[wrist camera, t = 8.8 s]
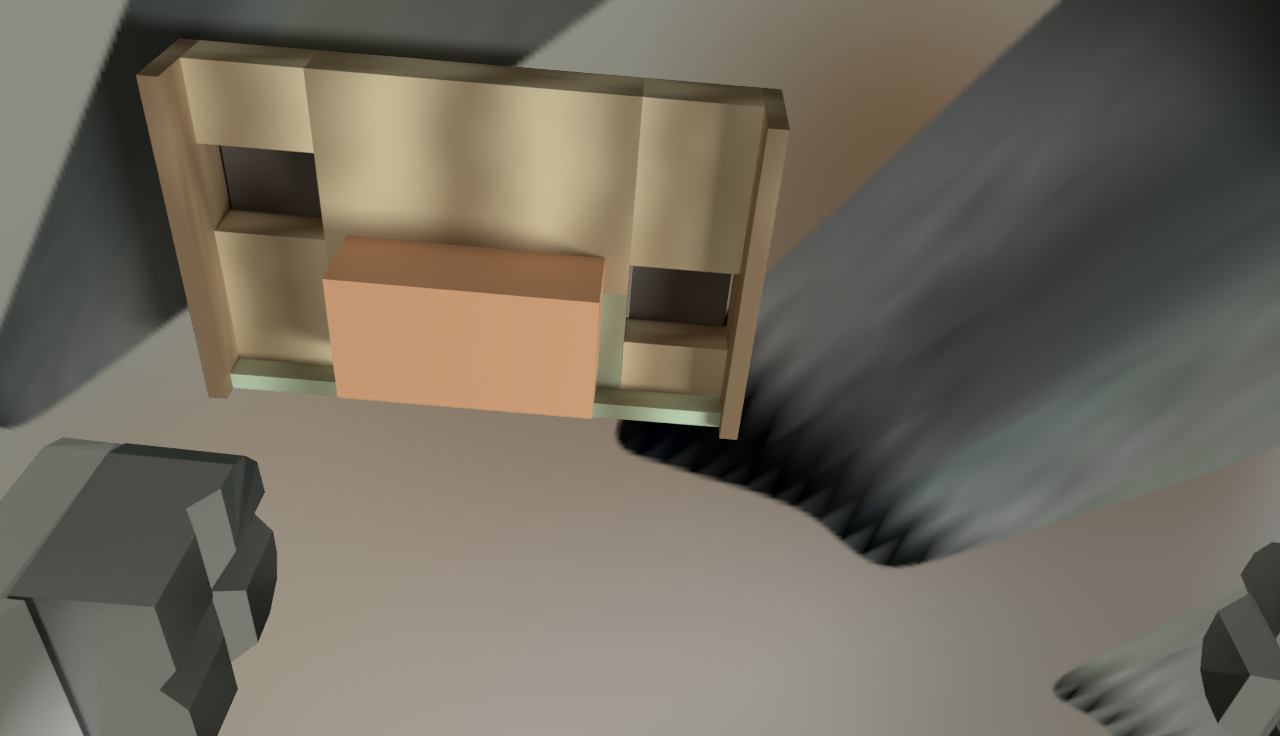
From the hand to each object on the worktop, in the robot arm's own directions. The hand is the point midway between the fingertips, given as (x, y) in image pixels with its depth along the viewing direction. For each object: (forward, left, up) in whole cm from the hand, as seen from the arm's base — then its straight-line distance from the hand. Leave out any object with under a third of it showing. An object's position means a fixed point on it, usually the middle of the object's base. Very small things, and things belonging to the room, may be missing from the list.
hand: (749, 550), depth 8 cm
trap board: (+8, +16, -34) cm, 38 cm away
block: (+8, +19, -32) cm, 38 cm away
